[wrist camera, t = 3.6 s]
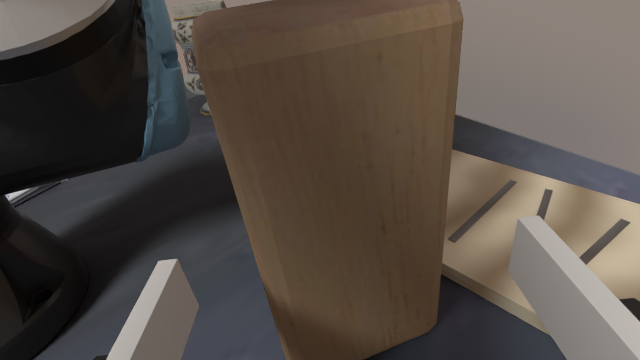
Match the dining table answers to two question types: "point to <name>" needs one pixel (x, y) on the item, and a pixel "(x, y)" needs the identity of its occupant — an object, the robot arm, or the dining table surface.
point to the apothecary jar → (183, 37)
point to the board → (524, 201)
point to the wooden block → (338, 160)
